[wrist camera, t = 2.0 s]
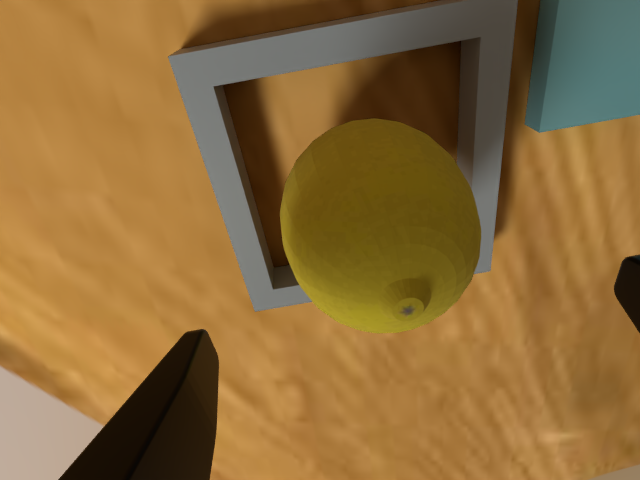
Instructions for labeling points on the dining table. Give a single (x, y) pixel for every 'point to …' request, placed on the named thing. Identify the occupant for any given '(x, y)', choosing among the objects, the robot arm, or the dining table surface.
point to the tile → (584, 63)
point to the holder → (337, 47)
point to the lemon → (380, 226)
